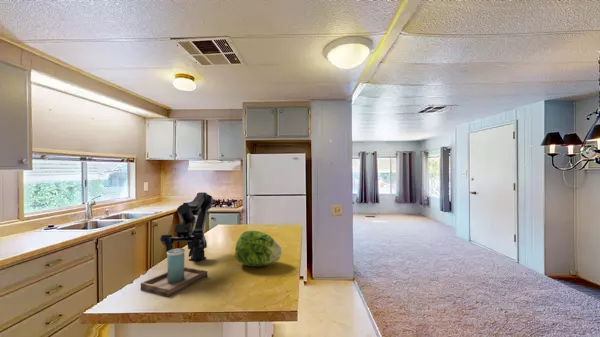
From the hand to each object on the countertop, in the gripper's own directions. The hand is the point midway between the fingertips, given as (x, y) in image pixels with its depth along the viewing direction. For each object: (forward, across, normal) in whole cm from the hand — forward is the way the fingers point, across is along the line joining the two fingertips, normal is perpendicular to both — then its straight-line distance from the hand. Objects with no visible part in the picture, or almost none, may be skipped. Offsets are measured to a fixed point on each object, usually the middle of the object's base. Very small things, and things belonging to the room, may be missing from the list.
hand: (178, 256), depth 110 cm
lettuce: (-3, +34, +18) cm, 38 cm away
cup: (+8, 0, +4) cm, 9 cm away
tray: (+9, 0, +5) cm, 10 cm away
